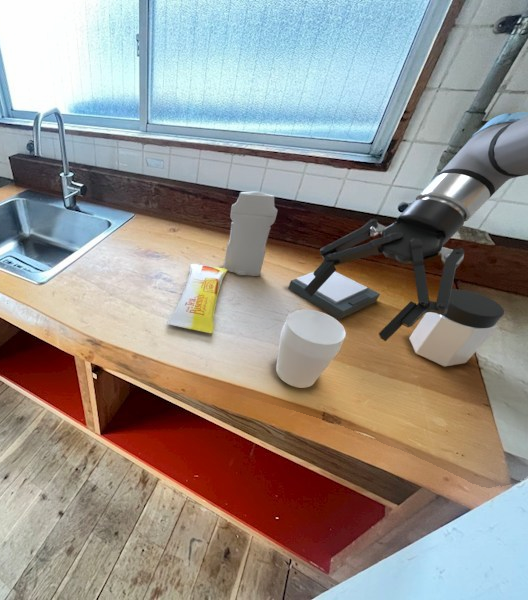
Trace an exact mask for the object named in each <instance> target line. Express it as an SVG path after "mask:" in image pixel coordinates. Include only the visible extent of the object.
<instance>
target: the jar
mask: <svg viewBox="0 0 528 600" xmlns="http://www.w3.org/2000/svg"><path fill="white" fill-rule="evenodd" d="M504 309H505V308H504V307H503V306H502V305H501V304H500V303H499V302H497V301H496V300H494V299H493V298H490V297H488V296H486V295H483V294H481V293H478V292H475V291H471V290H466V289H456V288H455V289H453V288H452V290H451V295H450V301H449V306H448V311H447V313H446V314H445V315H439V314H437V313H433V312H427V313H425V314H424V315H423V316H422V317H421V320H420V321H419V322H418V323H417V326H416V327H415V329H414V330H413V331H412V333H411V334H410V335H409V338H408V339H409V342H410V343H411V346H412V349H413V351H414V353H415V354H416V355H419V356H421V357H422V358H425V359H426V360H429V361H431V362H432V363H433V362H434V363H435V364H438V365H440V366H442V367H450V366H457V365H463V364H466V363H468V361H469V360H470V359H471V358H472V357H473V356H474V355H475V353H476V352H477V351H478V350H479V349H480V348H481V347H482V345H483V344H484V343H485V342H486V341H487V339H488V338H490V336H491V335H492V334H493V333H494V332H495V331H496V329H498V325H497V323H499V321H500V320H501V318H502V317H503V316H504V315H505V310H504Z"/></svg>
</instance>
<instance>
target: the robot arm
mask: <svg viewBox="0 0 528 600" xmlns="http://www.w3.org/2000/svg"><path fill="white" fill-rule="evenodd" d="M524 176H528V112H527V111H516V112H513V113H510V112H509V113H508V112H506V113H505V112H504V113H503V114H499V115H497V116H494V117H493V118H491V119H489V120H488V121H487V122H486V123H485V124H484V125H483V126H481V128H480V129H479V130H478V131H476V132H475V133H473V134H471V137H470V138H469V139H468V140H467V141H466V143H465V144H464V145H463V146H462V147H461V149H459V150H458V152H457V153H456V154H455V155H454V156H453V157H452V159H451V160H449V162H448V163H447V164H446V165H445V166H444V167H443V168H442V170H441V171H440V172H439V173H437V175H436V176H435V177H434V178H433V179H432V180H431V181H430V182H429V183H428V184H427V186H425V187H424V188H423V190H421V192H419V194H418V195H417V196H416V198H415V200H413V201H412V202H411V203H410V204H408V205H407V207H406V208H405V209H404V210H403V211H402V212H401V214H399V216H398V217H396V219H395V220H394V221H393V223H392V224H390V225H388V226H385V225H383V224H382V223H379V222H378V219H376V218H371V219H370V220H368V221H367V222H366V223H365V224H364V225H363V226H362V227H360V228H358V229H356V230H354V231H352V232H350V233H349V234H346V235H344V236H342V237H341V238H339V239H337V240H334V241H333V242H331V243H329V244H327V245H325V246H323V247H321V248H320V249H319V254H320V255H321V257H322V259H323V261H322V262H321V264H319V266H318V267H317V268H316V269H315V270H314V271H313V272H314V276H315V278H314V279H313V280H312V281H311V282H310V283H309V285H308V286H307V287H306V288H305V289H304V290H305V292H306V293H307V294H308V295H309V296H311V297H312V296H313V295H314V294H315V292H316V291H317V290H318V289H319V288H320V287H321V286H322V285H323V284H324V283H325V282H326V280H327V279H328V278H329V277H330V276H331V275H332V274H333V273H334V272H337V268H336V267H335V266H338V265H339V266H340V265H342V264H346V263H349V262H352V261H357V260H360V259H364V258H367V257H371V256H380V255H384V256H385V258H388V259H391V260H396V261H397V262H398V263H400V264H402V265H404V266H405V265H411V264H412V265H413V272H414V279H415V280H414V281H415V287H416V294H417V301H418V302H417V303H416V302H414V301H410V302H408V303H407V305H405V307H404V308H402V310H401V311H400V312H398V313H397V314H396V316H395V317H393V319H392V320H391V321H389V323H388V324H386V326H385V327H384V328H383V329H382V330H380V331H379V333H378V336H379V338H380V339H381V340H383V341H384V342H387V341H388V340H389V339H390V338H391V337H392V336H393V335H394V334H395V333H396V332H397V331H398V330H399V329H400V328H401V327H402V326H404V327H406V328H412V326H414V325H415V324H416V323H417V322H418V321H419V320H420V319H422V318H423V317H424V315H425V314H426V313H427V312H433V313H437V314H439V315H445V314H446V313H447V311H448V306H449V301H450V295H451V290H453V285H454V281H455V275H456V269H458V267H459V266H460V265H461V263H462V262H463V261H464V257H465V249H463V248H462V247H455V248H454V249H452V248H449V247H445V244H446V243H448V242H449V241H450V239H452V237H453V236H454V235H455V234H457V233H458V231H459V230H460V229H461V228H462V227H463V226H464V224H465V222H467V221H468V220H469V219H471V218H472V217H473V216H474V215H475V214H476V213H477V211H478V210H479V209H480V208H481V207H483V206H484V205H485V203H486V202H488V201H489V199H490V198H492V196H493V195H494V194H495V193H496V192H497V191H498V190H499V189H500V188H501V187H502V186H503V185H504V184H506V182H508V181H509V180H511V179H516V178H519V177H524ZM379 234H380V235H381V237H379V238H374V239H372V240H370V241H369V242H367V243H364V244H360V243H363V242H365V241H366V240H368V239H370V238H371V237H377V236H378V235H379ZM358 244H360V245H358ZM356 245H357V246H356ZM438 256H440V259H441V263H442V264H443V268H442V272H441V273H442V274H441V277H440V283H439V287H438V292H437V298H436V301H432V300H430V296H429V288H428V282H427V274H426V267H425V260H428V259H432V258H436V257H438Z"/></svg>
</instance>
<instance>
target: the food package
mask: <svg viewBox="0 0 528 600" xmlns="http://www.w3.org/2000/svg"><path fill="white" fill-rule="evenodd" d="M189 265H190V266H189V274H188V278H187V281H186V284H185V286H184V289H183V292H182V294H181V296H180V299H179V301H178V303H177V305H176V308H175V309H174V311H173V313H172V314H171V315H170V316H169V318H168V319H167V322H166V324H167V326H173V327H178V328H184V329H188V330H193V331H198V332H201V333H203V332H204V333H206V334H213V333H214V330H215V324H214V315H215V311H216V310H215V309H216V305H217V301H218V296H219V292H220V288H221V286H222V282H223V280H224V277H225V276H226V274H227V272H228V271H227V269H225V268H223V267H217V266H211V265H203V264H197V263H191V264H189Z"/></svg>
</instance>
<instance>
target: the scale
mask: <svg viewBox="0 0 528 600" xmlns="http://www.w3.org/2000/svg"><path fill="white" fill-rule="evenodd" d="M314 278H315V276H314V271H311V272H310V273H307V274H304V275H301V276H298V277H296V278H294V279H291V280H290V282H289V285H288V289H289V290H290V291H292V292H293V293H295V294H296V295H299V296H300V297H302V298H303V299H305V300H307V301H308V302H310V303H311V304H313V305H315V306H316V307H318V308H319V309H321V310H322V311H324V312H326V313H327V314H329V315H330V316H332V317H333V318H335V319H336V318H337V319H338V320H341V319H344V318H346V317H347V316H350V315H352V314H354V313H356V312H358V311H360V310H362V309H364V308H367V307H369V306H371V305H373V304H375V303H376V302H377V300H378V298H379V297H380V295H381V293H379V292H377V291H376V290H374V289H371V288H369V287H367V286H366V285H363V284H361V283H359V282H357V281H355V280H354V279H352V278H350V277H347V276H345V275H344V274H341V273H339V272H337V271H335V272H334V273H333V274H332V275H331V276H330V277H329V278H328V279H327V280H326V282H325V283H324V284H323V285H322V286H321V287H320V288H319V289H318V290H317V291H316V292H315V294H314V295H313V296H312V297H311V296H309V295H308V294H307V293H306V292H305V290H304V289H305V288H306V287H307V286H308V285H309V283H310V282H311V281H312V280H313V279H314Z"/></svg>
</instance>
